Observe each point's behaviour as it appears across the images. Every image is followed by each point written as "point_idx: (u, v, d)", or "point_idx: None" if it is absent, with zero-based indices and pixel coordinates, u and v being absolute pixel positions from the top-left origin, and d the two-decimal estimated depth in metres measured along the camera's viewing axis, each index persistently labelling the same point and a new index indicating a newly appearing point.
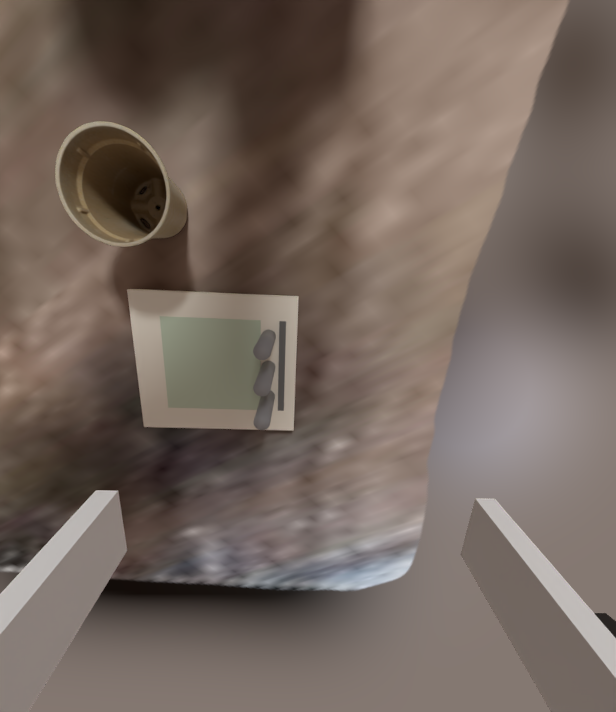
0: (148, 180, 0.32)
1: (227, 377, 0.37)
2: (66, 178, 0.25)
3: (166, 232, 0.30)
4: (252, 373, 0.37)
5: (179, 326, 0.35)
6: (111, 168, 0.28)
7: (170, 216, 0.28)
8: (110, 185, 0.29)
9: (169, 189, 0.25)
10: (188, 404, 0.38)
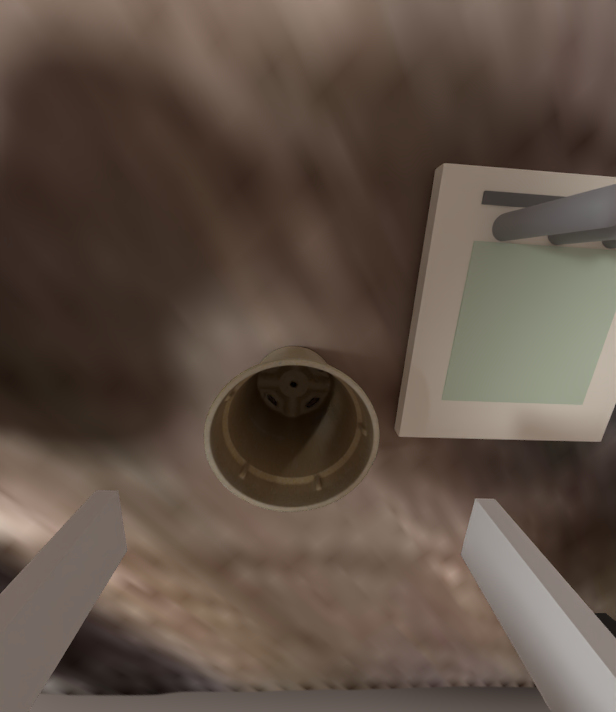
0: (259, 391, 0.24)
1: (559, 307, 0.22)
2: (279, 496, 0.18)
3: None
4: (564, 261, 0.21)
5: (461, 374, 0.23)
6: (254, 435, 0.20)
7: None
8: (274, 439, 0.21)
9: (294, 359, 0.14)
10: (585, 375, 0.23)
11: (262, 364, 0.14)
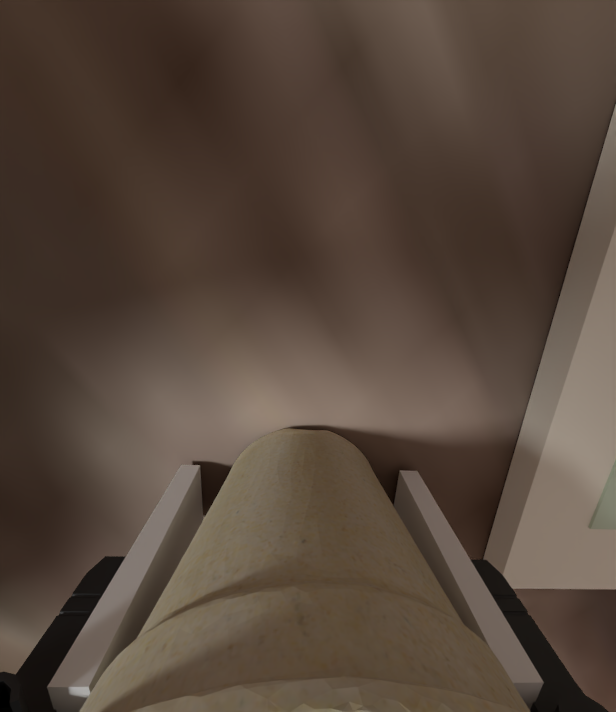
0: None
1: None
2: None
3: (403, 524, 0.08)
4: None
5: None
6: None
7: (391, 558, 0.06)
8: None
9: (319, 703, 0.03)
10: None
11: None
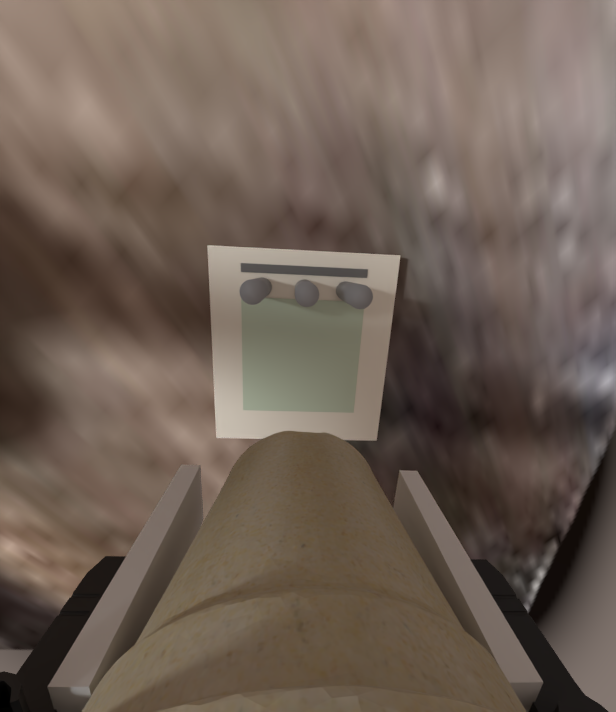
0: None
1: (316, 342, 0.29)
2: None
3: (403, 528, 0.08)
4: (312, 309, 0.29)
5: (254, 391, 0.31)
6: None
7: (392, 563, 0.06)
8: None
9: None
10: (350, 390, 0.31)
11: None
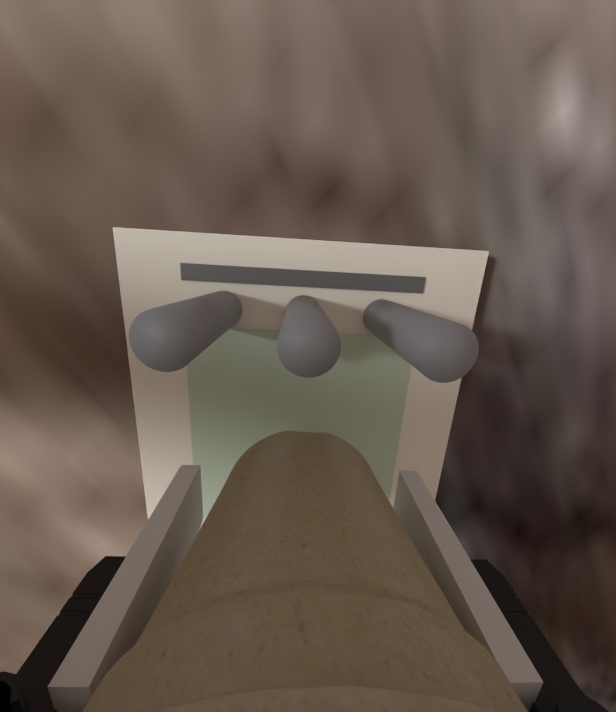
0: None
1: (325, 407, 0.16)
2: None
3: (404, 528, 0.08)
4: None
5: (215, 487, 0.18)
6: None
7: (392, 563, 0.06)
8: None
9: None
10: (382, 485, 0.18)
11: None
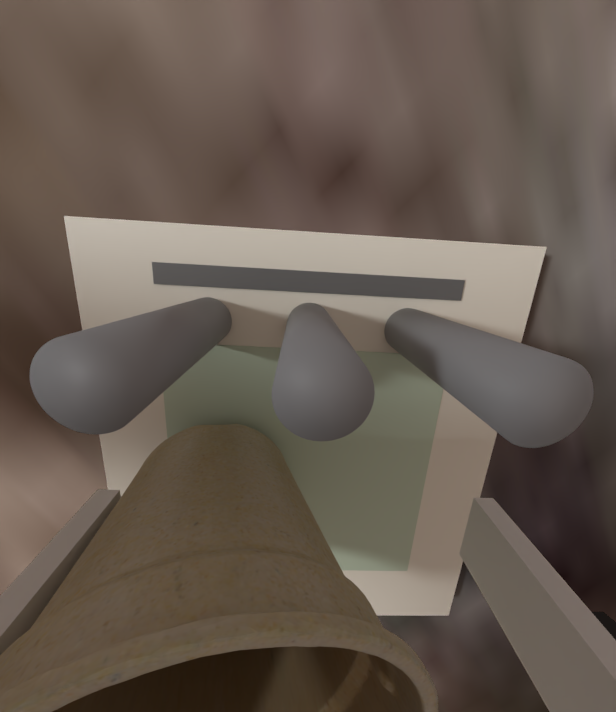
0: None
1: (336, 440, 0.13)
2: None
3: (303, 500, 0.09)
4: None
5: None
6: None
7: (279, 526, 0.07)
8: None
9: (179, 642, 0.04)
10: (403, 531, 0.15)
11: (30, 700, 0.03)
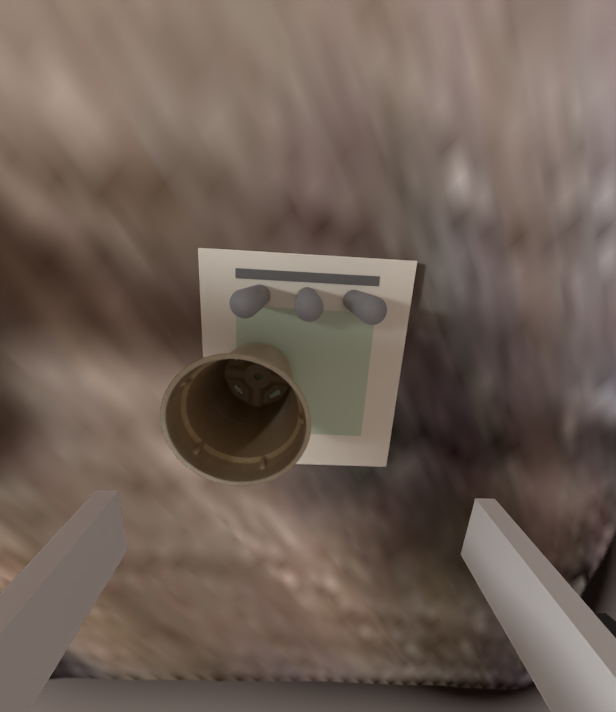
0: (227, 381, 0.27)
1: (320, 357, 0.26)
2: (228, 472, 0.20)
3: (288, 371, 0.22)
4: (315, 321, 0.25)
5: None
6: (215, 419, 0.23)
7: (270, 362, 0.20)
8: (234, 424, 0.24)
9: (236, 354, 0.17)
10: (357, 411, 0.28)
11: (209, 356, 0.17)
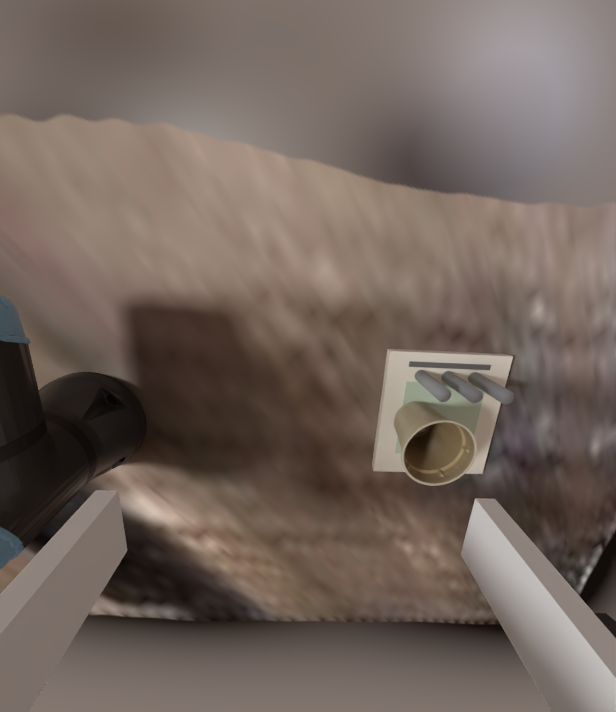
0: (394, 424, 0.44)
1: (451, 409, 0.44)
2: (424, 478, 0.38)
3: None
4: (451, 389, 0.43)
5: None
6: None
7: None
8: (409, 451, 0.42)
9: (447, 420, 0.35)
10: None
11: (434, 421, 0.35)
